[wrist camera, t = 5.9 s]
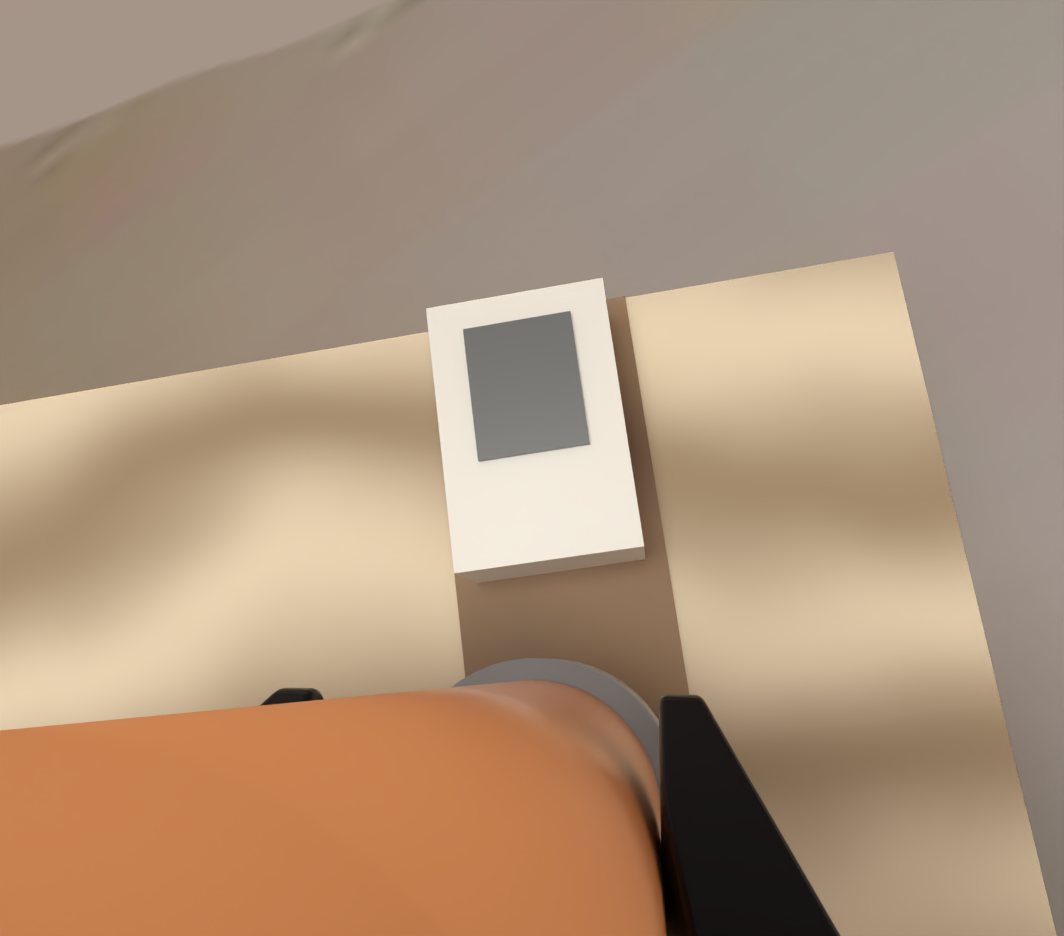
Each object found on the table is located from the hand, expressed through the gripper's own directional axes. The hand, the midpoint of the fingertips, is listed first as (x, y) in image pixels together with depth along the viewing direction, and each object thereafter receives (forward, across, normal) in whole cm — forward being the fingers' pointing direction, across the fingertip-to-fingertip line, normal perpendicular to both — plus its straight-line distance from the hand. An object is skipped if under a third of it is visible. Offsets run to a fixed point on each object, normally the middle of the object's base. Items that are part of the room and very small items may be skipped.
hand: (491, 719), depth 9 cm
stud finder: (+12, +1, +4) cm, 13 cm away
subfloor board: (+8, +3, +10) cm, 14 cm away
